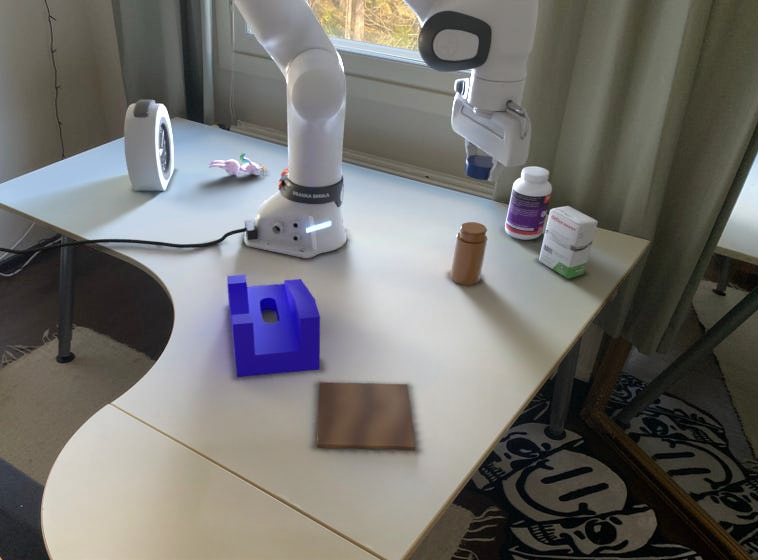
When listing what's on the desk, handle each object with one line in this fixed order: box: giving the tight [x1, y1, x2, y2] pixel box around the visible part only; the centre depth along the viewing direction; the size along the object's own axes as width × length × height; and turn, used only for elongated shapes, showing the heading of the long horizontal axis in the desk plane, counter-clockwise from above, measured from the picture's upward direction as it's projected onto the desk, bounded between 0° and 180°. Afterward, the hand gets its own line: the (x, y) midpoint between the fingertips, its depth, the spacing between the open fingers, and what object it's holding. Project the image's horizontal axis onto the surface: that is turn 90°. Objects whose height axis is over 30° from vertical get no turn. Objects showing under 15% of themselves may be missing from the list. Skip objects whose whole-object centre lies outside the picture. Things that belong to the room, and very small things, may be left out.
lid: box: [464, 154, 494, 181], centre depth 119 cm, size 6×6×2 cm
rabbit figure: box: [207, 153, 267, 176], centre depth 174 cm, size 6×6×15 cm
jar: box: [450, 221, 488, 286], centre depth 130 cm, size 6×6×11 cm
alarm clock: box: [123, 99, 175, 192], centre depth 167 cm, size 21×8×20 cm, turn 179°
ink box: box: [538, 205, 599, 280], centre depth 133 cm, size 9×5×12 cm, turn 26°
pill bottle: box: [504, 166, 553, 241], centre depth 144 cm, size 8×8×14 cm
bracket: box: [226, 274, 321, 378], centre depth 114 cm, size 21×14×10 cm, turn 9°
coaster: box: [316, 381, 416, 451], centre depth 101 cm, size 14×14×1 cm
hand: (481, 172), depth 120 cm, fingers closed on lid, 6 cm apart
